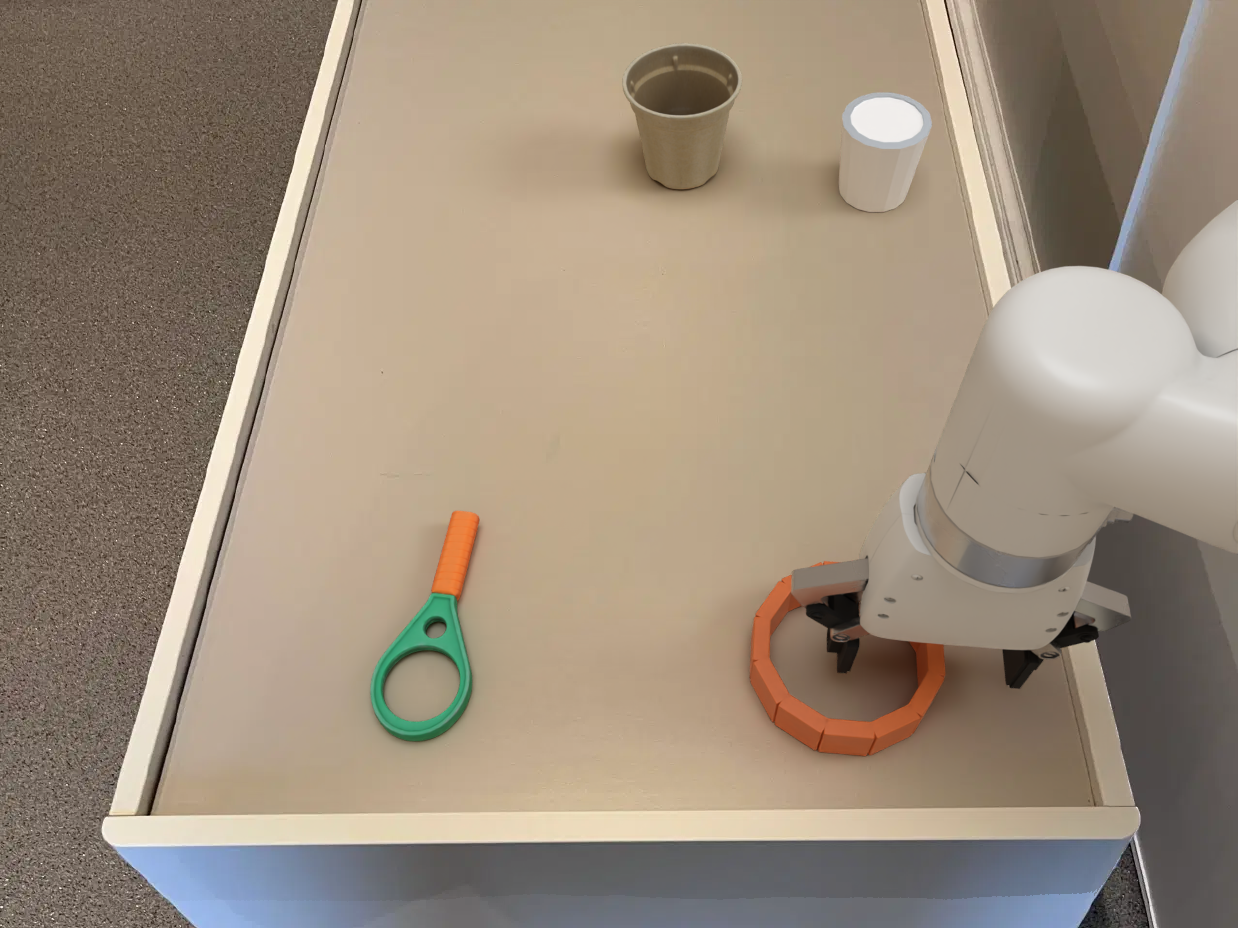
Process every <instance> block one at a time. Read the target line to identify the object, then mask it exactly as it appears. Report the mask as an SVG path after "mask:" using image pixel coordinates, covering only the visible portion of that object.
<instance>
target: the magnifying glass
mask: <svg viewBox="0 0 1238 928" xmlns="http://www.w3.org/2000/svg"><path fill="white" fill-rule="evenodd" d="M480 519H481V518H480V516H479V514H477V513H475V512H473V511H466V510H453V511H452V513H451V516H450V518H449V522H448V525H447V530H446V534H445V537H444V541H443V545H442V549H441V553H440V556H439V560H438V563H437V568H436V571H435V574H434V578H433V581H432V585H431V588H430V595H429V597H428V599H427V600H426V602H425V603H424V605H423V606H421V608H420V609H419V611H418V612H417V613H416V614H415V616H414V617H413V618H412V619H411V620H410V622H409V623H408V624H406V626H405V627H404V629H402V631H401V632H400V633H399V634H398V635H397V637H396V638H395V639H394V640H393V642H391V644H390V645H389V646H388V647H387V648H386V650H385V651H384V652H383V654H382V655H381V657H380V658H379V660H378V661H377V663H376V665H375V666H374V669H373V672H372V676H371V678H370V685H369V686H370V687H369V694H370V701H371V706H372V709H373V712H374V714H375V717H376V718H377V720H378V722H379V724H380V726H381V727H383V728H384V729H385V730H386V731H387V732H388V733H389V734H390V735H391V736H393V737H396V738H398V739H400V740H403V741H407V742H425V741H428V740H431V739H434V738H436V737H439V736H440V735H442V734H444V733H445V732H447V731H448V730H449V729H451V728H452V727H453V726H454V724H456V722H457V721H458V720H459V719H460V718H461V716H463V714H464V712H465V710H466V709H467V706H468V704H469V702H470V698H471V695H472V689H473V672H472V667H471V663H470V660H469V655H468V651H467V647H466V643H465V638H464V634H463V631H462V626H461V622H460V618H459V615H458V613H459V612H458V602H459V600H460V598H461V595H462V591H463V587H464V585H465V584H464V583H465V579H466V576H467V572H468V568H469V564H470V560H471V555H472V552H473V548H474V544H475V540H476V537H477V533H478V528H479V524H480ZM436 622H437V623H438V622H441V623H444V624H445V631H444V633H443V634H442V635H441V636H438V637H429V636H428V634H427V630H428V628H429V626H431V624H434V623H436ZM421 651H435V652H438V653H441V654H443V655H445V656H447V658H449V659H450V660H451V661H452V662H453V663H454V665H455V666H456V668H457V670H458V673H459V674H458V675H459V685H458V689H457V694H456V695H455V697H454V699H453V700H452V702H451V703H450V705H449V706H448V707H447V708H446V709H445V710H444V711H442V712H441V713H440V714H438V715H437V716H434V717H432V718H429V719H425V720H419V721H415V720H414V721H413V720H407V719H404V718H402V717H399V716H397V715H396V714H394V712H392V711H391V710H390V707H388V706H387V704H386V701H385V696H384V687H385V682H386V680H387V677H388V675H389V673H390V672H391V670H392V669H393V667H395V665H396V664H397V663H398V662H399V661H400V660H401V659H403V658H405V657H407V656H408V655H410V654H413V653H416V652H421Z"/></svg>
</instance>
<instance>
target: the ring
mask: <svg viewBox="0 0 1238 928" xmlns="http://www.w3.org/2000/svg"><path fill="white" fill-rule="evenodd" d="M840 562H841V561H827V560H824V561H823V562H821V561H820V562H817V563H815V564H812V565H810V566H809V567H814V566H820V565H827V564H833V563H840ZM791 578H792V574H790V575H787V576H785V577H781V581H780V580H778V582H777V583H776V584H775V586H774V587H773V589H772V590H771V591H770V592H769V593H768V596H767V597H766V598H765V600H764V601H763V602H762V604H761V605H760V606H759V608H758V609H757V611H756V612H755V615H754V617H753V621H752V628H751V637H750V656H749V658H750V659H749V680H750V681H749V682H750V684H751V687H752V689H753V690H754V692H755V693H756V695H757V697H758V699H759V701H760V703H761V704H762V706H763V708H764V710H765V712H766V713H767V715H768V717H769V719H770V720H771V722H772V723H774V725H775V727H778V728H779V729H781V730H782V731H784V732H785V733H787V734H788V735H790V736H791V737H793V738H794V739H796V740H797V741H799V742H800V743H802V744H804V745H805V746H807V747H808V748H810V749H812V750H813V751H818V752H819V753H825V754H826V753H828V754H839V755H850V756H861V757H866V756H868V755H869V756H872V755H874V754H876V753H879V752H881V751H883V750H885V749H887V748H889V747H891V746H893V745H896V744H897V743H900V742H901V741H904V740H906V739H908V738H910V737H911V736H912V735H913V734H914V733H915V732H916V730H917V728H918V727H919V725H920V723H921V722H922V720H923V719H924V718H925V715H926V713H927V711H928V710H929V708H930V706H931V705H932V704H933V702H934V701H935V698H936V696H937V695H938V693H939V691H940V689H941V687H942V685H943V683H944V681H945V677H946V674H947V673H946V663H945V661H946V660H945V645H944V644H933V643H921V642H911V641H908V643H909V644H910V646H911V647H912V649H913V651H914V652H915V655H916V671H917V673H916V676H917V689H916V690H915V692H913V693H914V694H913V695H912V696H911V699H910V700H909V702H908V703H907V704H906V705H904V706H901V707H899V708H897V709H895V710H893V711H890V712H888V713H887V714H884V715H882V716H880V717H878V718H876V719H874V720H872V721H866V720H853V719H852V720H851V719H841V718H831V717H830V718H828V717H826V716H825V715H823V714H821V713H820V712H818V711H817V710H816V709H814V708H813V707H810V706H809V705H808V704H806V703H804V702H803V701H801V700H799V699H798V698H796V697H795V696H794V695H792V694H791V693H790V692H789V690H788V688H787V686H786V685H785V683H784V681H783V680H782V678H781V676H780V674H779V672H778V670H777V669H776V666H774V664H773V662H772V660H771V637H772V635H773V634H774V632H775V631H776V630H777V628H778V627H779V625H781V622H782V621H783V619H784V618H785V617H786V615H787V614H788V612H791V611H793V610H795V609H797V608H800V607H802V606H801V605H800V603H799V602H798V601H797V600H796V599H795V598H794V596H793V595H792V593H791Z"/></svg>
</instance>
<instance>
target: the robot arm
mask: <svg viewBox="0 0 1238 928" xmlns="http://www.w3.org/2000/svg"><path fill="white" fill-rule="evenodd" d="M952 403H953V404H952V406H951V408H950V411H949V414H948V416H947V419H946V421H945V423H944V426H943V429H942V431H941V434H940V436H939V439H938V441H937V443H936V446H935V449H934V453H933V455H932V457H931V460H930V463H929V465H928V467H927V470H926V472H921V473H919V472H918V473H913V474H911V475H909V476H908V477H907V478H906V479H905V480H904V481H902V483H901V484H900V485H899V486H898V487H897V488H896V489H895V490H894V491H893V493H892V494H891V495H890V497H889V498H888V499H887V501H886V502H885V503H884V505H883V506H882V508H880V510H879V512H878V514H877V515H876V518H875V519H874V521H873V522H872V525H871V527H870V529H869V530H868V532H867V534H866V537H865V539H864V541H863V543H862V545H861V548H860V550H859V553H858V558H857V559H854V560H847V561H839V562H840V563H833V564H827V565H820V566H814V567H810V566H807V567H802V568H797V569H793V570H792V571H791V575H792V578H791V593H792V595H793V596H794V598H795V599H796V600H797V601H798V602H799V603H800V605H801V606H800V607H803V608H805V615H806V616H807V617H808V618H809V619H811V620H812V621H814V622H816V623H818V624H820V625H821V626H823V627H825V628H826V652H827V653H830V654H836V673H837V674H846V675H847V673H848V672H851V671H852V668H853V665H854V662H855V660H856V658H857V655H858V653H859V651H860V645H861V641H860V640H861V639H860V638H862V637H865V636H868V635H871V636H874V637H878V638H881V639H887V640H893V641H902V642H909V641H911V642H921V643H933V644H944V646H945V645H946V646H956V647H957V646H958V647H968V648H981V649H982V648H983V649H993V650H994V649H995V650H1002V651H1001V652H1002V661H1003V670H1004V679H1005V680H1004V681H1005V685H1006V686H1008V687H1009V689H1017V690H1021V688H1022V687H1023V686H1024V684H1025V683H1026V681H1027V680H1028V679H1029V678H1030V677H1031V675H1032V674H1033V672H1034V671H1037V670H1038V668H1039V667H1040V666H1041V664H1042V663H1043V662H1044V661H1053V660H1057V659H1061V657H1062V655H1063V654H1062V649H1064V648H1067V647H1071V646H1072V647H1073V646H1076V645H1080V644H1085V643H1086V644H1089V643H1091V642H1093V641H1095V640H1098V638H1099V636H1100V634H1099V632H1102V631H1104V632H1108V631H1110V630H1112V629H1115V628H1117V627H1119V626H1120V627H1121V626H1122V625H1125V624H1126V623H1129V622H1131V620H1132V614H1131V609H1130V603H1129V598H1128V596H1127V595H1126V594H1123V593H1120V592H1118V591H1115V590H1112V589H1110V588H1107V587H1104V586H1102V585H1099V584H1097V583H1093V582H1091V581H1089V580H1088V578H1089V574H1090V571H1091V567H1092V564H1093V560H1094V555H1095V550H1096V549H1095V548H1096V544H1097V535H1098V533H1099V532H1100V530H1101V529H1102V528H1106V527H1107V525H1109V526H1110V525H1113V524H1114V523H1126V524H1128V523H1131V521H1132V520H1133V518H1134V515H1136V516H1139V517H1141V518H1143V519H1145V520H1148V521H1151V522H1153V523H1156V524H1159V525H1161V526H1162V527H1165V528H1168V529H1171V530H1174V531H1175V532H1178V533H1181V534H1182V535H1183V534H1184V535H1185V536H1189V537H1191V538H1193V539H1195V540H1197V541H1200V542H1203V543H1205V544H1207V545H1210V546H1213V547H1216V548H1218V549H1221V550H1224V551H1226V552H1228V553H1231V554H1235V555H1238V199H1237V200H1235V201H1233V202H1232V203H1230V204H1229V205H1228V206H1227V207H1226V208H1224V209H1223V210H1222V211H1221V212H1219V213H1218V214H1217V215H1216V216H1215V217H1213V218H1212V219H1211V220H1210V221H1209V222H1207V224H1206V225H1205V226H1203V227H1202V228H1201V230H1199V231H1198V232H1197V234H1195V235H1194V236H1193V238H1191V240H1190V241H1188V243H1187V244H1186V245H1184V247H1183V249H1182V250H1181V251H1180V253H1179V254H1178V255H1177V257H1176V259H1175V260H1174V262H1173V263H1172V265H1171V267H1170V268H1169V270H1168V272H1167V274H1166V276H1165V280H1164V283H1163V286H1162V291H1161V292H1159V291H1158V290H1157V289H1155V288H1153V287H1151V286H1150V285H1148V284H1147V283H1145V282H1143V281H1141V280H1139V279H1136V278H1135V277H1133V276H1130V275H1127V274H1125V273H1122V272H1119V271H1116V270H1112V269H1108V268H1103V267H1097V266H1088V265H1069V266H1068V265H1065V266H1059V267H1054V268H1050V269H1046V270H1043V271H1040V272H1036V273H1034V274H1032V275H1029V276H1028V277H1026V278H1023V279H1021V280H1020V281H1019V282H1018V283H1016V284H1015V285H1013V286H1012V287H1011V288H1009V289H1008V290H1007V291H1006V292H1005V293H1004V294H1003V295H1002V296H1001V297H1000V298H999V300H997V302H996V303H995V304H994V306H993V307H992V308H991V310H990V312H989V314H988V316H987V318H986V320H985V322H984V324H983V326H982V329H981V331H980V333H979V336H978V339H977V341H976V343H975V347H974V349H973V351H972V354H971V357H970V360H969V362H968V364H967V367H966V370H965V372H964V375H963V377H962V380H961V383H960V386H959V388H958V391H957V394H956V395H955V398H954V400H953V402H952Z"/></svg>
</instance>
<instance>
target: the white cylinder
mask: <svg viewBox="0 0 1238 928" xmlns="http://www.w3.org/2000/svg"><path fill="white" fill-rule="evenodd" d="M932 126H933V121H932V117H931V113H930V112H929V111H928V109H926V107H925V106H924V105H923V104H922V102H919V101H917V100H916V99H913V98H912V97H910V96H908V95H904V94H900V93H896V92H892V91H889V92H883V91H882V92H879V91H878V92H871V93H867V94H863V95H860V96H858V97H856V98H854V99H853V100H852V101H850V102H849V103H848V104H847V105H846V107H845V108H844V110H843V112H842V114H841V127H840V128H841V129H840V150H839V171H838V172H839V174H838V175H839V176H838V190H839V195H840V197H842V199H843V200H844V201H845V203H847V204H848V205H849V206H851V207H853V208H855V210H860V211H863V212H866V213H867V212H868V213H884V212H888V211H891V210H895V209H897V208H898V207H899V206H901V205H902V204H903V203H904V202H905V201H906V198H907V196H908V193H909V191H910V188H911V186H912V182H913V180H914V177H915V174H916V171H917V169H918V166H919V163H920V160H921V157H922V154H923V152H924V148H925V147H926V146H925V145H926V143H927V141H928V137H929V135H930V132H931V130H932Z"/></svg>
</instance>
